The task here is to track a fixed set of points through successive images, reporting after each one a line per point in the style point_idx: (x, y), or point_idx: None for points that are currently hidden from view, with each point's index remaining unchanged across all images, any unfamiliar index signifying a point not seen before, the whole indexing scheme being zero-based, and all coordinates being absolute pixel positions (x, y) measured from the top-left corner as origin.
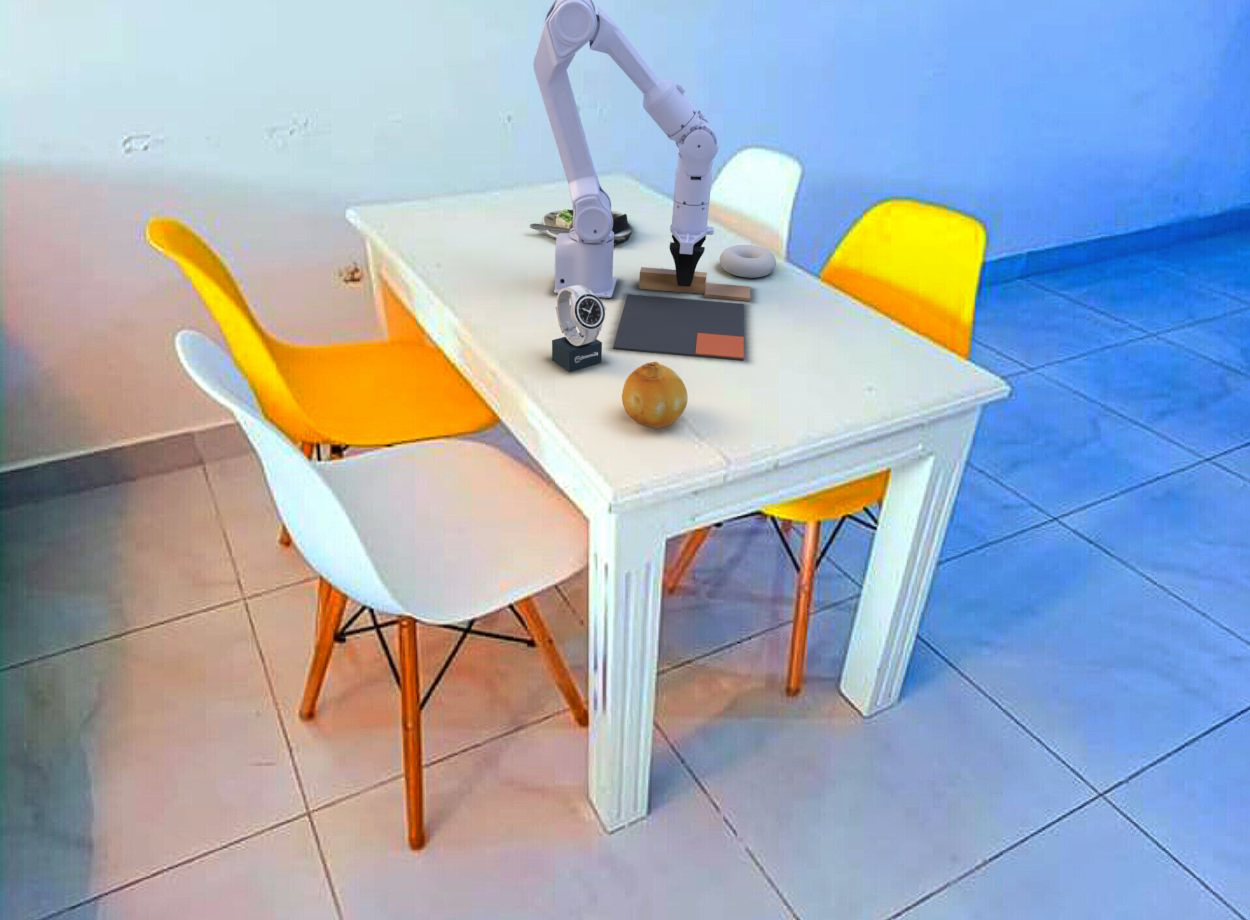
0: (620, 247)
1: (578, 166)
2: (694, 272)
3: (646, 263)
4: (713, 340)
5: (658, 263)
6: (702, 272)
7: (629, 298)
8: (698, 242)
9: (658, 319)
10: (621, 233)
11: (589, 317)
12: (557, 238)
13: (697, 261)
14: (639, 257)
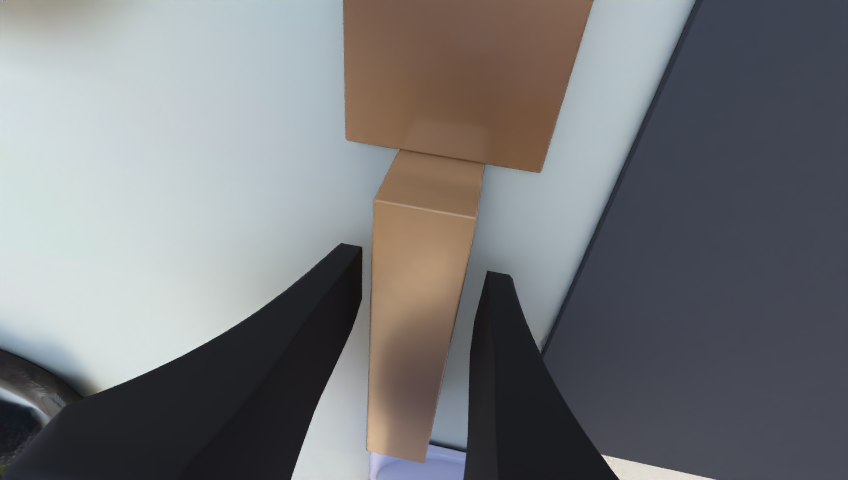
0: (76, 372)
1: None
2: (536, 346)
3: (171, 332)
4: None
5: (146, 296)
6: (384, 229)
7: None
8: (231, 461)
9: (816, 406)
10: (6, 397)
11: None
12: None
13: (599, 454)
14: (126, 341)
